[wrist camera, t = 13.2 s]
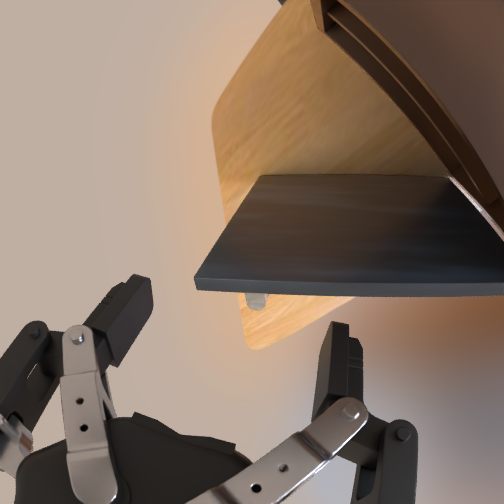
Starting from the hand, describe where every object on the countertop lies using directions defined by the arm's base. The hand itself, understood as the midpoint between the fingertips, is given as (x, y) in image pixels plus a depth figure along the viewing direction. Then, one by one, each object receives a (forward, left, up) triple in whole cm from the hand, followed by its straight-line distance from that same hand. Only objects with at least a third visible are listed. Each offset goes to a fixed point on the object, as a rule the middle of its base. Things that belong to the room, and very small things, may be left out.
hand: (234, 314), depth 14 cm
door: (+9, -5, -32) cm, 34 cm away
